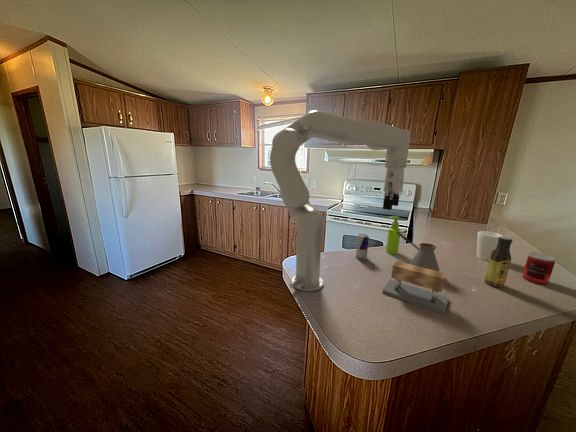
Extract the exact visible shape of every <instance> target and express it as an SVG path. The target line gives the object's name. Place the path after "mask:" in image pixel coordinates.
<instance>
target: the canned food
mask: <svg viewBox="0 0 576 432" xmlns="http://www.w3.org/2000/svg"><path fill="white" fill-rule="evenodd" d="M555 264H556V258H555V257H553V256H551V255H548V254H545V253H539V252H530V253H528V256H527V257H526V262H525V266H524V268H523V269H524V270H523V272H522V273H523V274H522V278H523V279H524V280H525V281H527V282H529V283H533V284H534V285H535V284H536V285H541V286H544V285H545V286H546V285H547V284H549V281H550V279H551V276H552V273H553V269H554V267H555Z"/></svg>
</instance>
